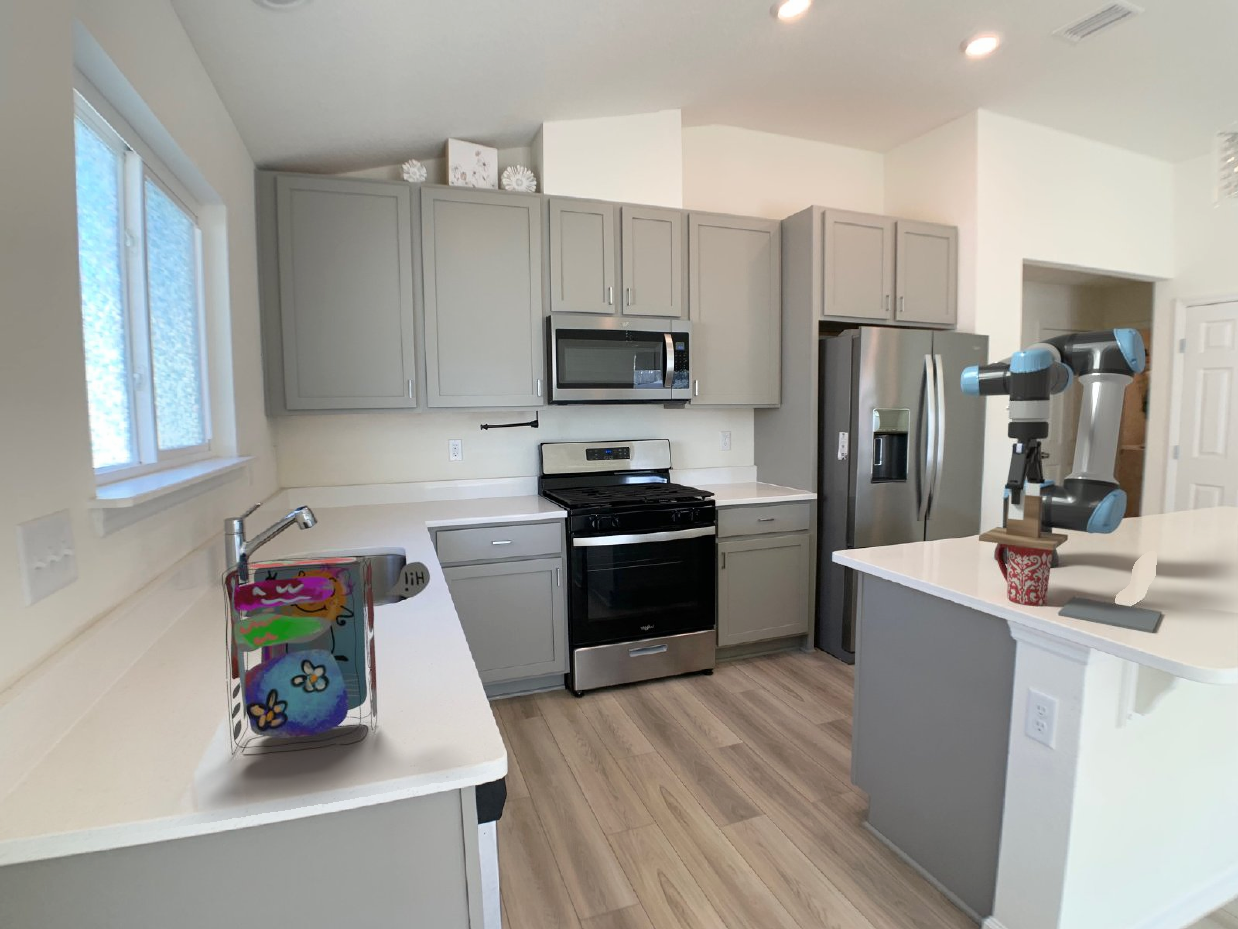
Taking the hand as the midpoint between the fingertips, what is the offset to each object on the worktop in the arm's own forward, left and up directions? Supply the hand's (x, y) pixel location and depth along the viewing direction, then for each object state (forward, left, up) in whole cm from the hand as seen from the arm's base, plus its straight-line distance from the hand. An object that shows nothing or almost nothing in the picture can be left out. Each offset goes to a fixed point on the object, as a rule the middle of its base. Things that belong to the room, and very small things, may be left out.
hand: (1024, 515), depth 137 cm
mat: (0, +16, -19) cm, 25 cm away
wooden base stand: (0, 0, -6) cm, 6 cm away
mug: (0, 0, -19) cm, 19 cm away
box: (+132, -50, -19) cm, 143 cm away
